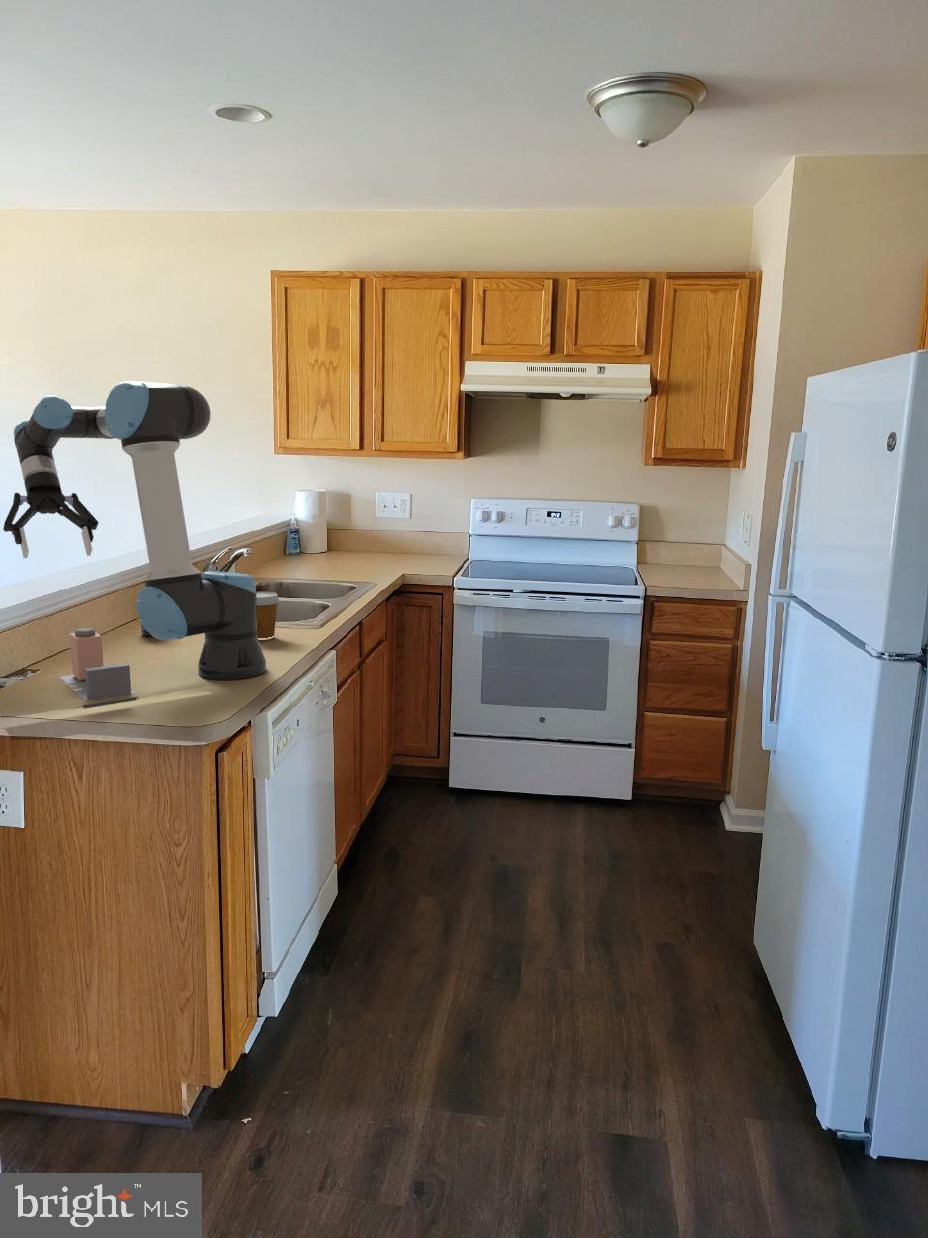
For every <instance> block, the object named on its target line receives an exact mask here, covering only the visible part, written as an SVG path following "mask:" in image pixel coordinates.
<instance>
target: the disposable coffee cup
mask: <svg viewBox="0 0 928 1238" xmlns="http://www.w3.org/2000/svg"><path fill="white" fill-rule="evenodd" d="M256 592H257V595H256V607H257V638H268V637H272V636H274V637H275V633H276V632H275V631H276V621H277V611H278V603H279V600H280V598H279V597H278V593H277V592H272V591H256Z"/></svg>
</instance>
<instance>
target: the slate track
mask: <svg viewBox="0 0 928 1238" xmlns="http://www.w3.org/2000/svg"><path fill="white" fill-rule="evenodd" d="M130 669H131V668H130V665H129V664H128V663H126V662H125V663H118V664H112V665H105V666H104V665H103V666H102V667H95V668H88V669H85V675H86V679H84V680H79V679H78V678H77V677H75V676H74V675H73V674H69V675H64V676H59V678H60V679H61V680H62V681H63V682H64V683H65V684H66V685H67V686H68V687H69V688H70V689H71V690H72V691H73V692H74V693H75V694H76V695H77V696H79V698H80V699H82V701H84V702H88V701H89V702H90V701H97V700H102V699H103V700H104V699H109V698H110V699H111V698H115V697H122V696H128V695H135V694H137V692H136V691H134V689H132V686H131V684H132V683H131V682H132V681H131V670H130ZM137 700H138V697H137V696H134V697H133V696H132V697H128V698H123V699H116V700H109V701H102V702H97V703H90V704H89V703H88V704H84V705H82V707H83V708H84V709H90V708H96V707H103V706H109V705H116V704H122V703H129V702H133V701H134V702H135V701H137Z"/></svg>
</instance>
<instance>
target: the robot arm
mask: <svg viewBox="0 0 928 1238" xmlns="http://www.w3.org/2000/svg"><path fill="white" fill-rule="evenodd" d="M210 407H211V406H210V405H209V402H208V399H206V398H205V396H204V395H203V394H202V393H201V392H200V391H198V390H197V389H195V388H193V387H191V386H188V385H184V384H175V383H174V384H173V383H162V382H161V383H160V382H154V381H152V382H151V381H143V380H138V381H137V380H136V381H123V382H120V383H118V384H116V385H115V386H114V387H113V388H112V389H111V391H110V392H109V395H108V397H107V398H106V402H105V406H96V407H95V406H93V407H92V406H76V405H75V406H73V405H71V404H70V403H69V402H68V401H67V400H66V399H64V398H60V397H58V396H57V395H47V396H44V397H43V398H42V399H41V400H40V401H39V403H38V404H37V405H36V406H35V408H34V409H33V412H32V414H31V416H30V418H29V420H25V421H22V422H20V424H17V425H16V426H15V427H14V429H13V437H14V439H13V441H14V445H15V449H16V452H17V456H18V460H19V464H20V467H21V468H20V469H21V474H22V478H23V481H24V483H23V484H24V488H25V492H26V495H21V494H20V493H19V492H14V495H13V500H12V503H13V504H12V506H11V508H10V510H9V512H8V514H7V517H6V519H4V524H3V529H2V531H3V532H6V533H7V532H10V533H11V534H12V536H13V538H14V542H15V544H16V545H20V547H21V551H22V556H23V559H28V557H29V552H30V550H29V547H28V542H27V537H26V532H25V528H24V527H25V526H26V524H28V522H29V521H30V520H31V519H33V517H34V516H36V514H37V513H40V514H41V515H45V514H51V515H53V514H54V515H55V514H56V513H57V514H58V515H59V516H61V517H64V518H66V519H67V520H68V521H69V522H71V523H73V524H74V525H75V526H76V527H78V528H79V529H80V530H81V532H80V533H81V537H82V540H83V541H82V542H83V544H84V545H83V546H84V549H85V550H84V551H85V552H86V556H87V557H88V556H89V557H90V556H91V554H92V552H93V546H92V543H93V541H94V533H93V531H96V530H97V528H98V525H99V521H98V519H97V518H95V516H94V515H93V514H92V513H91V511H90V510H88V508H87V507H86V506H85V505H84V504H83V503H82V502H81V501H80V499H79V497H78V494H77V493H75V492H73V493H71V494H70V495H64V494H63V492H62V487H61V483H60V479H59V476H58V475H59V474H58V471H57V467H56V464H55V458H54V454H53V449H54V448H55V446H56V445H57V443H58V442H59V441H60V440H61V439H63V438H64V439H102V440H104V439H105V440H109V439H110V440H113V439H116V440H120V442H121V443H120V444H121V448H122V451H123V452H124V453H126V454H127V455H128V456H130V458H131V463H132V468H133V474H134V480H135V485H136V491H137V492H136V493H137V497H138V498H137V499H138V503H139V504H138V505H139V509H140V515H141V521H142V527H143V528H142V529H143V534H144V535H143V536H144V540H145V546H146V551H147V559H148V564H149V573H148V574H147V575H146V577H145V578H144V579H143V581H144V588H143V589H141V590H140V591H139V592H138V595H137V599H136V612H137V615H138V616H137V617H138V619H139V622H140V621H141V623H142V625H143V626H144V628H145V629H146V630H147V631H148V632H149V633H150V634H151V635H152V636H153V637H152V638H154V639H157V640H160V641H170V640H181V639H184V638H187V637H192V636H197V635H202V634H204V643H203V646H202V650H201V652H200V657H199V660H198V666H197V668H198V675H199V676H201V677H202V678H207V679H211V680H221V681H222V680H229V681H230V680H241V679H248V678H249V679H250V678H253V677H257V676H261V675H262V674H264V673H265V672H266V671H267V662H266V661H267V660H266V657H265V655H264V652H263V649H262V647H261V644H260V641H258V638H257V607H256V595H257V592H258V591H257V590H256V589H257V588H256V580H255V578H254V577H253V576H252V575H251V574H246V573H238V572H228V571H214V570H213V571H211V570H210V571H204V572H201V571H200V570H199V569H198V568H196V567H195V566H194V565H193V561H192V555H191V549H190V543H189V538H188V537H189V536H188V531H187V524H186V518H185V512H184V506H183V505H184V504H183V501H182V495H181V494H182V493H181V489H180V481H179V476H178V475H179V474H178V469H177V463H176V462H177V461H176V458H175V457H176V456H175V453H176V451H178V449H179V447H180V446H181V442H180V440H189V439H193V438H196V437H197V436H200V435H201V434H203V433H204V432H205V431H206V430H207V428H208V426H209V424H210V422H211V416H212V415H211V414H212V413H211V408H210ZM24 503H26V504H27V505H29V507H28V508H27V509H26V511H24V513H22V515H21V516H20V517H19V518H18V519H17V520H16V521H15V518H16V516H17V514H18V512H19V508H20V506H22V505H23V504H24ZM68 505H69V506H71V507H72V508H73V509H71V508H70V507H69V506H68ZM14 521H15V523H14Z"/></svg>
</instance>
